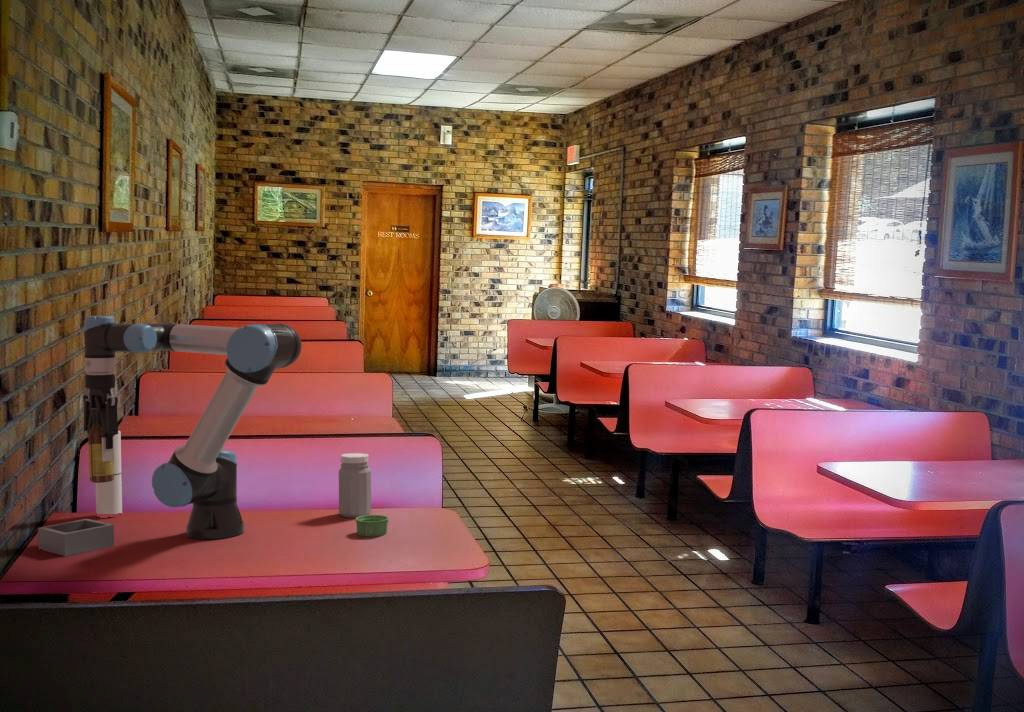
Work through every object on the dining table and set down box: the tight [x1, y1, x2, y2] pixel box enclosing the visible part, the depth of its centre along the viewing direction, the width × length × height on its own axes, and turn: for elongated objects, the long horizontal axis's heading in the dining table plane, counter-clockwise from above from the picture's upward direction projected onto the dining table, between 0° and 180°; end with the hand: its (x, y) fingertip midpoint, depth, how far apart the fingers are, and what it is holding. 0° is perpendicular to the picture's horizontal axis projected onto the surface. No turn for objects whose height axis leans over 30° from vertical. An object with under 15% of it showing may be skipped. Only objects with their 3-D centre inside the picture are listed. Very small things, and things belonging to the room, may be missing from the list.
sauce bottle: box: [87, 408, 114, 484], centre depth 264 cm, size 7×6×20 cm
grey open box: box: [37, 518, 115, 557], centre depth 255 cm, size 12×13×6 cm
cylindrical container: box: [95, 430, 123, 514], centre depth 292 cm, size 7×7×25 cm
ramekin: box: [355, 514, 389, 538], centre depth 271 cm, size 9×9×4 cm
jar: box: [338, 452, 372, 519], centre depth 294 cm, size 10×10×18 cm
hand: (100, 459), depth 265 cm, fingers closed on sauce bottle, 6 cm apart
